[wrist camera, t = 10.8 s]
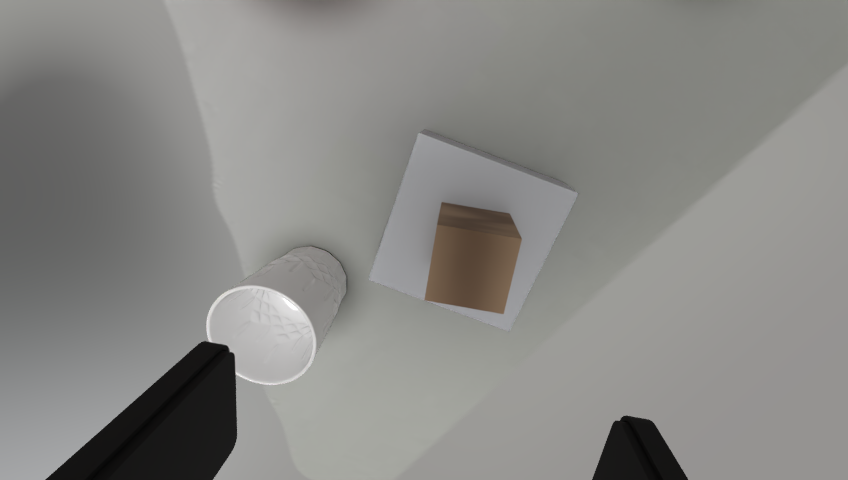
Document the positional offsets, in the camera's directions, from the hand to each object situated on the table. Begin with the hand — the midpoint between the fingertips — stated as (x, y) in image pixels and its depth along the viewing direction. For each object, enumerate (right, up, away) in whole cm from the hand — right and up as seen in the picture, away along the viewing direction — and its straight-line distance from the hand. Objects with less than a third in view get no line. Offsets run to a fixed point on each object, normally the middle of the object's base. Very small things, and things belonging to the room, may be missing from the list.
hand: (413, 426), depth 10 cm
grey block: (+4, +6, +25) cm, 26 cm away
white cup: (-10, +1, +27) cm, 29 cm away
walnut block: (+4, +5, +20) cm, 21 cm away
